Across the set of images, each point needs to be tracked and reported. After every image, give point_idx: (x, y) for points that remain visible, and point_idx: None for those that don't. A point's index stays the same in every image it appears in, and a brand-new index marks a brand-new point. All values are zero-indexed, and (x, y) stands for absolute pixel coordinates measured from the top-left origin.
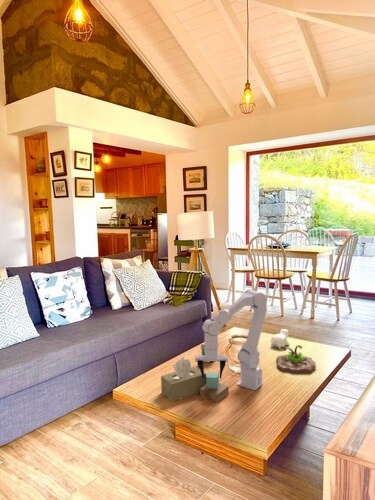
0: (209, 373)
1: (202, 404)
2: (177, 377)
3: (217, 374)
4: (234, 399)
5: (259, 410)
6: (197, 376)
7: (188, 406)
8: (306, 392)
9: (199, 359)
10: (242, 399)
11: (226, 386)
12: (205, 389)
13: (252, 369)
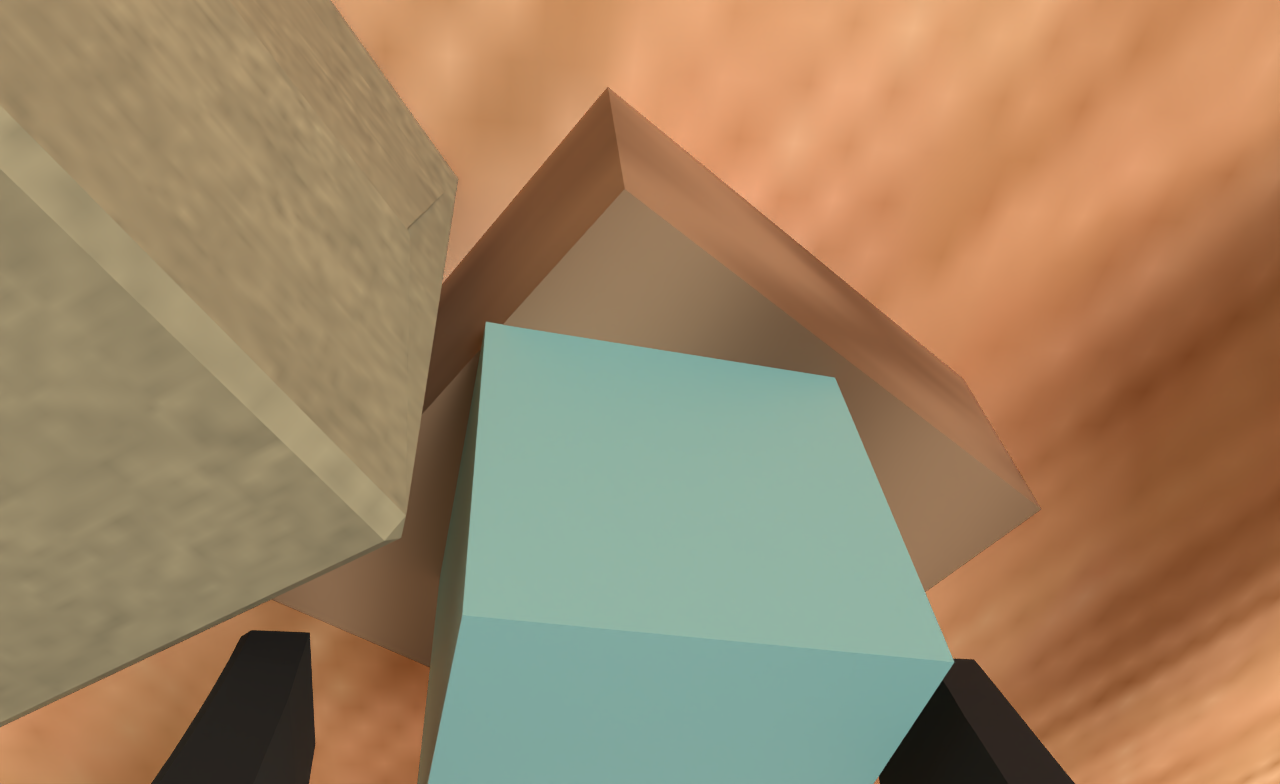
0: (541, 700)
1: (376, 671)
2: None
3: (856, 756)
4: (993, 553)
5: (1198, 769)
6: (31, 710)
7: (124, 716)
8: None
9: None
10: (1133, 555)
11: (985, 517)
12: (413, 626)
13: None
